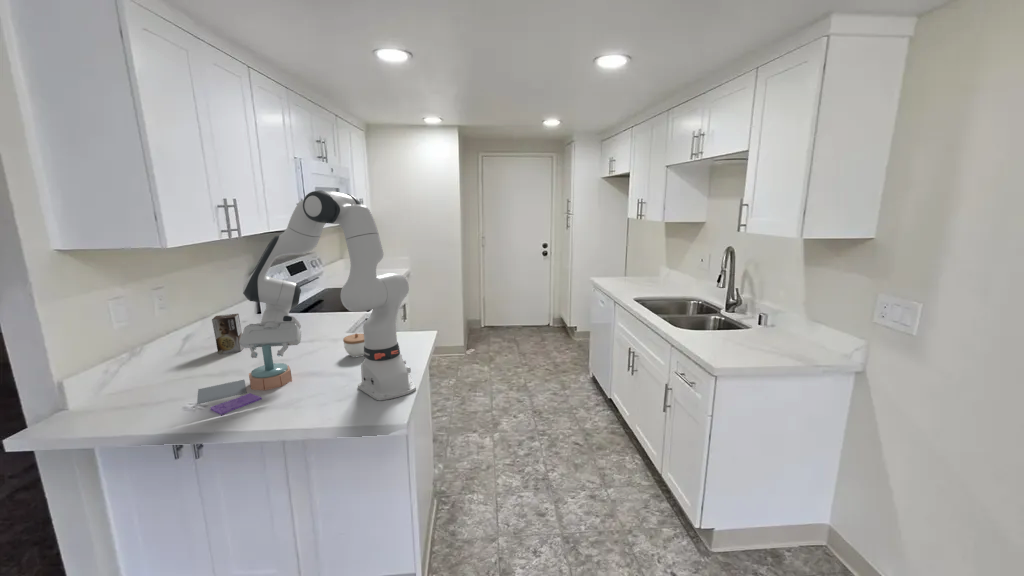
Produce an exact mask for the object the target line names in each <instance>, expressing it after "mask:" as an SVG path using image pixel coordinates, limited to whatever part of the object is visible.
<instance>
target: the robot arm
mask: <svg viewBox="0 0 1024 576" xmlns="http://www.w3.org/2000/svg"><path fill="white" fill-rule="evenodd" d="M326 224H332V225H339V226H340V227H341V228H342V231H343V234H344V235H343V236H344V239H345V242H346V247H347V251H348V255H349V262H350V269H349V274H348V278H347V280H346V282H345V283H344V285H343V286H342V288H341V291H340V301H341V303H342V306H343V307H344V308H345V309H347V311H349V312H353V313H354V312H355V313H356V312H367V311H371V310H372V311H371V313H370V314H369V317H367V319H366V320H365V321H364V323H363V327H362V331H363V334H364V342H365V346H364V356H363V357H364V360H363V362H361V363H360V369H361V371H360V372H361V382H360V383H358V384H357V389H358V390H360V391H362V392H363V393H365V394H367V395H368V396H370V397H371V398H373V399H374V400H376V401H385V400H390V399H392V400H393V399H396V398H398V397H403V396H405V395H408V394H409V395H410V394H411V393H413V392H415V391H416V390H417V386H416V384H415V382H414V380H413V377H412V376H411V373H412V371H411V366H406V364H407V361H406V360H404V359H403V355H402V354H401V351H400V345H399V342H398V337H397V320H398V319H397V318H398V314H399V310H400V307H401V305H402V303H403V301H404V300H405V298H406V297H407V296H408V294H409V290H410V288H409V287H410V286H409V282H408V279H407V278H406V277H405V276H404V275H403V274H401V273H397V272H395V273H394V272H387V273H381V274H377V266H378V264H379V263H380V262H381V261H382V259H384V249H383V245H382V242H381V238H380V235H379V231H378V227H377V224H376V221H375V219H374V215H373V214H372V213H371V210H370V208H369V207H368V206H366V205H364V204H361V201H359V199H358V198H357V197H355V196H353V195H352V194H348V193H343V192H337V191H333V190H313V191H311V192H309V193H307V194H306V195H305V197H304V198H303V200H301V201H299V202H298V203H297V204H296V207H295V208H294V210H293V212H292V214H291V216H290V219H289V222H288V223H287V227H286V229H285V230H284V231H283V232H282V233H281V234H280V235H279V234H278V235H275V236H273V237H272V239H271V240H270V241H269V243H268V244H267V246H266V247H265V249H264V251H263V253H262V254H261V256H260V258H259V260H258V262H257V264H256V265H255V267H254V269H253V271H252V272H251V274H250V275H249V276H248V278H247V279H246V280H245V282H244V284H243V287H242V294H243V295H244V296H245V298H246V299H247V300H248V301H249V302H253V303H254V302H256V303H265V309H264V311H263V313H262V317H261V321H260V323H259V322H258V323H249V324H247V325H246V326H244V327H243V328H244V329H243V332H242V336H241V338H240V344H241V345H242V346H243V347H244V348H245V349H249V350H250V353H251V354H250V358H252V359H256V358H258V355H259V353H258V352H257V351H255V350H257V348H262V346H263V345H266V344H270V345H271V348H272V347H281V348H280V349H278V350H277V353H276V356H277V357H284V353H285V352H286V351H287V350H288V348H289V347H290V346H298V345H299V344H300V343H301V340H302V330H301V328H302V325H301V323H300V321H299V320H298V319H297V318H296V317H295V316H292V315H290V311H291V310H293V309H295V308H296V307H298V305H299V303H300V296H301V293H302V289H301V287H300V286H299V284H298V283H296V282H293V281H290V280H285V279H280V278H277V277H272V276H271V277H270V276H269V275H267V273H268V271H269V269H270V268H271V266H272V265H273V263H274V261H275V260H276V259H277V258H279V257H284V256H290V255H291V256H292V255H294V256H295V255H304V254H307V253H310V252H312V251H313V250H315V248H316V247H317V245H318V243H319V241H320V238H321V235H322V233H323V230H324V227H325V225H326ZM244 348H243V349H244Z"/></svg>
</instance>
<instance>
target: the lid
mask: <svg viewBox="0 0 1024 576" xmlns="http://www.w3.org/2000/svg"><path fill="white" fill-rule="evenodd" d="M261 350H262V356H263V357H262V358H263V363H264V365H260V366H258V367H256V368H253V369H252V370H251V371H250V373H251V375H252V377H254V378H269V377H273V376H277V375H280V374H282V373H284V372H286V371H287V370H288V366H289V365H288V364H286V363H284V362H283V363H282V362H275V363H274V360H273V352H272V347H271V345H270V344H266V345H263V346H262V347H261ZM287 365H288V366H287Z"/></svg>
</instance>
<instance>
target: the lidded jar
mask: <svg viewBox="0 0 1024 576" xmlns="http://www.w3.org/2000/svg"><path fill="white" fill-rule="evenodd" d="M342 341H343V346H344V349H345V352H346V353H347V354H348V356H349V355H350V357H352V356H354V357H353V358H357V357H356V356H361V357H363V356H362V355H364V346H365V342H364V333H354V334H350V335H347V336H345V337H344V338H343V339H342Z"/></svg>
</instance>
